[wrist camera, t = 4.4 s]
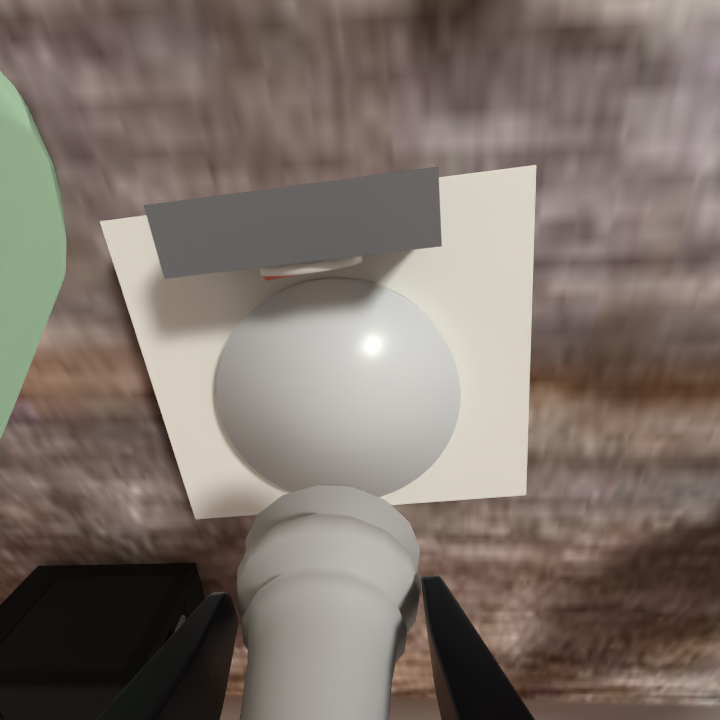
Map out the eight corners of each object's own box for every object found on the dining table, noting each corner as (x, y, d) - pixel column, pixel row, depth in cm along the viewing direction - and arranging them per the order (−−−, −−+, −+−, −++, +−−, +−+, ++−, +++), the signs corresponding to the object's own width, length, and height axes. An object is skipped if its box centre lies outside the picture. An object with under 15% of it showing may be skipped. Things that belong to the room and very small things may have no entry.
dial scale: (508, 173, 17) (597, 145, 10) (505, 457, 21) (565, 566, 15) (143, 220, 18) (7, 223, 11) (217, 481, 22) (153, 591, 16)
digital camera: (63, 625, 27) (-36, 757, 20) (36, 565, 25) (-82, 688, 19) (212, 623, 27) (160, 758, 20) (196, 562, 25) (132, 687, 18)
